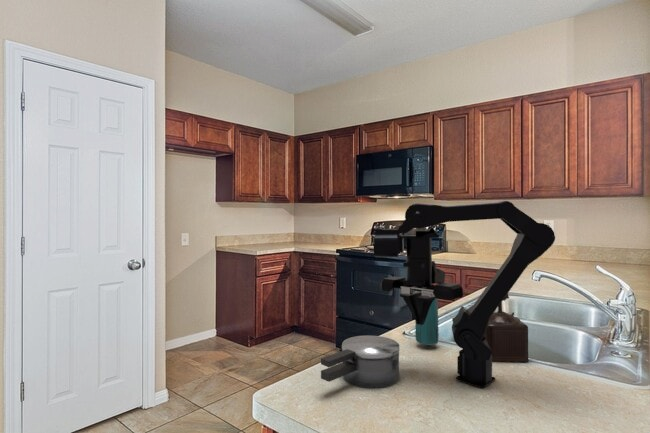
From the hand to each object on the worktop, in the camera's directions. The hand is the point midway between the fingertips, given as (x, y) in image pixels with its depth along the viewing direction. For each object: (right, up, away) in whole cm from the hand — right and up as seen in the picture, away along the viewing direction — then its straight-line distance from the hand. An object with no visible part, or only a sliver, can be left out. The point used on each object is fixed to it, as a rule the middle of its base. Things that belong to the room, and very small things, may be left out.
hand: (420, 324), depth 91 cm
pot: (-15, -12, -3) cm, 19 cm away
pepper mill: (+25, -12, +15) cm, 31 cm away
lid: (-15, -6, -3) cm, 16 cm away
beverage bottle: (+7, -12, +20) cm, 24 cm away
